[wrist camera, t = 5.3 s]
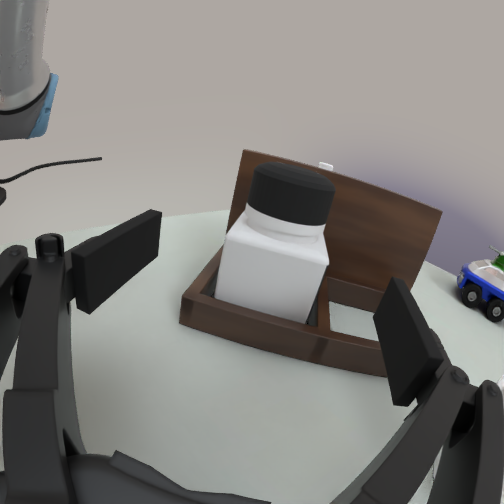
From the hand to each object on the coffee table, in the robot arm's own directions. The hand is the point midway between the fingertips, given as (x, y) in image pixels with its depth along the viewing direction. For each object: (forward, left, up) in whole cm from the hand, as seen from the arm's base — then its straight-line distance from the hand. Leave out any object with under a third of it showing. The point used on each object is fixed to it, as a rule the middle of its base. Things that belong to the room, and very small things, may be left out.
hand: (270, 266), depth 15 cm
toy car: (-6, +41, -8) cm, 42 cm away
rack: (-4, +7, -7) cm, 11 cm away
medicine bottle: (-6, +3, -8) cm, 10 cm away
